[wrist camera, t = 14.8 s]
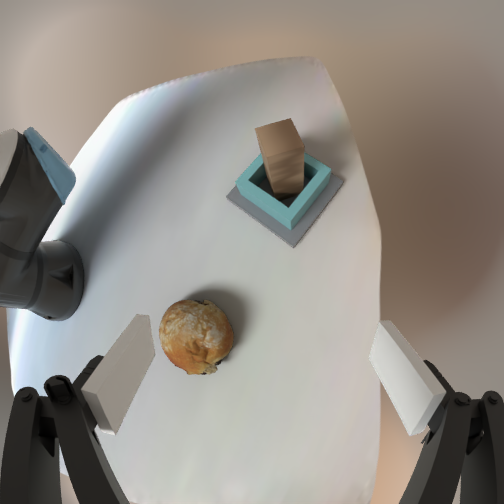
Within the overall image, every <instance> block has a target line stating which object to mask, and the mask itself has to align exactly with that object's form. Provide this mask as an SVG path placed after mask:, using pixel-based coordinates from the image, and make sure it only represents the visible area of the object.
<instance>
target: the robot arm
mask: <svg viewBox="0 0 504 504" xmlns="http://www.w3.org/2000/svg"><path fill="white" fill-rule="evenodd" d="M75 182H76V177H75V174H74V172H73V170H72V169H71V168H70V167H69V166H68V164H67V163H66V162H65V161H64V160H63V159H62V158H61V157H60V155H59V154H58V153H57V152H56V151H55V150H54V149H53V148H52V147H51V146H50V145H49V144H48V143H47V141H46V140H45V139H44V138H43V137H42V136H41V135H40V134H39V133H38V132H37V131H36V130H34V128H33V127H29V128H28V129H27V130H25V131H24V134H23V135H22V134H20V133H19V132H18V131H16V130H15V129H9V130H7V131H4V132H2V133H0V307H8V308H20V309H28V310H30V311H32V312H33V313H35V314H37V315H39V316H41V317H43V318H45V319H47V320H51V321H63V320H66V319H68V318H69V317H70V316H71V315H72V314H73V313H74V312H75V310H76V309H77V307H78V305H79V302H80V299H81V296H82V292H83V284H84V272H83V265H82V261H81V258H80V256H79V254H78V252H77V250H76V249H75V248H74V247H73V246H72V245H70V244H68V243H65V242H62V241H58V240H54V241H46V242H41V240H42V239H43V237H44V235H45V233H46V231H47V230H48V228H49V226H50V225H51V223H52V221H53V220H54V218H55V216H56V215H57V213H58V211H59V210H60V208H61V207H62V205H64V204H65V200H66V199H67V197H68V195H69V194H70V192H71V191H72V189H73V187H74V185H75ZM154 356H155V350H154V344H153V338H152V332H151V326H150V319H149V315H139V314H137V315H136V316H135V317H134V319H133V320H132V321H131V322H130V324H129V325H128V326H127V328H126V329H125V330H124V331H123V333H122V334H121V335H120V337H119V338H118V339H117V341H116V342H115V343H114V345H113V346H112V347H111V349H110V350H109V351H108V353H107V354H106V355H105V356H100V355H98V356H96V357H95V358H93V359H91V360H90V361H89V363H88V364H87V365H86V368H84V369H83V371H82V373H80V374H79V376H78V377H77V378H76V380H75V381H74V382H73V384H71V382H70V380H69V378H67V377H66V376H63V375H55V376H53V377H50V378H49V379H48V380H46V382H45V383H44V389H45V391H46V393H47V395H48V397H46V396H39V394H38V392H37V391H36V389H34V388H33V387H24V388H22V389H20V390H19V391H18V392H17V393H16V395H15V398H14V402H13V406H12V410H11V414H10V419H9V423H8V428H7V433H6V438H5V445H4V451H3V458H2V467H1V480H0V504H62V500H61V488H60V468H59V443H60V447H61V451H62V455H63V458H64V462H65V465H66V468H67V471H68V474H69V477H70V480H71V483H72V485H73V489H74V491H75V494H76V496H77V499H78V501H79V504H130V503H129V501H128V500H127V498H126V496H125V494H124V493H123V491H122V489H121V487H120V485H119V483H118V481H117V479H116V477H115V475H114V473H113V471H112V469H111V467H110V465H109V463H108V460H107V458H106V456H105V454H104V451H103V449H102V447H101V444H100V442H99V439H98V437H97V434H96V432H95V430H94V429H95V427H96V425H97V424H98V426H99V428H100V430H101V431H102V432H105V433H108V434H112V435H115V436H116V434H117V432H118V430H119V428H120V426H121V423H122V421H123V419H124V417H125V415H126V413H127V411H128V409H129V407H130V404H131V402H132V400H133V398H134V396H135V394H136V392H137V390H138V388H139V386H140V384H141V382H142V380H143V378H144V376H145V374H146V372H147V370H148V368H149V366H150V364H151V362H152V360H153V358H154ZM369 360H370V362H371V364H372V366H373V368H374V369H375V371H376V373H377V375H378V377H379V379H380V380H381V382H382V384H383V386H384V388H385V390H386V391H387V393H388V395H389V397H390V399H391V401H392V403H393V405H394V407H395V409H396V410H397V412H398V414H399V416H400V418H401V420H402V422H403V424H404V426H405V428H406V430H407V432H408V434H409V436H412V435H415V434H418V433H422V432H423V430H424V429H425V427H426V426H427V424H428V426H429V428H430V430H429V432H428V433H427V435H426V436H425V438H424V439H423V440H422V442H421V443H422V444H423V443H424V441H425V443H424V446H423V448H422V451H421V454H420V457H419V459H418V462H417V464H416V467H415V469H414V472H413V474H412V476H411V479H410V481H409V483H408V486H407V488H406V490H405V492H404V494H403V496H402V498H401V500H400V502H399V504H452V502H453V499H454V496H455V493H456V489H457V486H458V482H459V479H460V475H461V494H460V504H504V403H503V400H502V397H501V396H500V395H499V394H498V393H497V392H495V391H487V392H485V394H484V395H483V397H482V398H481V399H473V400H471V398H470V397H469V396H468V395H467V394H464V393H462V392H455V391H454V390H453V389H452V387H451V386H450V385H449V383H448V382H447V381H446V380H445V378H444V377H442V374H441V373H440V372H438V369H437V368H436V367H435V366H434V365H433V364H432V363H430V362H429V361H427V360H424V361H423V360H422V359H421V358H420V356H419V355H418V354H417V353H416V351H415V350H414V349H413V348H412V347H411V345H410V344H409V343H408V341H407V340H406V339H405V338H404V337H403V335H402V334H401V333H400V332H399V331H398V329H397V328H396V327H395V326H394V325H393V324H392V322H391V321H390V320H388V321H379V323H378V327H377V331H376V334H375V338H374V342H373V345H372V349H371V352H370V356H369ZM483 431H484V434H483Z"/></svg>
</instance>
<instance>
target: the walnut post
mask: <svg viewBox="0 0 504 504" xmlns="http://www.w3.org/2000/svg"><path fill="white" fill-rule="evenodd" d="M255 131H256V135H257V138H258V142H259V146H260V150H261V154H262V158H263V163H264V167H265V171H266V175H267V179H268V182H269V184H270V187H271V190H272V193H273V196H274V198H275V199H276V200H278V201H282V200H285V199H288V198H291V197H295V196H298V195H300V193H301V192H302V191H303V186H304V144H303V142H302V140H301V138H300V136H299V134H298V132H297V130H296V128H295V126H294V124H293V122H292V120H291V118H290V119H286V120H282V121H279V122H275V123H272V124H268V125H265V126H262V127H258V128H255Z"/></svg>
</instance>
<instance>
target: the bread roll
mask: <svg viewBox="0 0 504 504" xmlns="http://www.w3.org/2000/svg"><path fill="white" fill-rule="evenodd" d="M159 337H160V342H161V346H162V348H163V350H164V352H165V354H166V355H167V357H168V358H169V360H170V361H171V362H172V363H173V364H175V366H177V367H179V368H182V369H184V370H185V371H186V372H187V374H189V375H190V374H198V375H200V374H202V375H205V374H211V373H215V372H216V371H217V367H215V366H216V365H219V364H221V361H222V359H223V358H224V357H225V356H227V355H228V353H229V352H230V349H231V348H232V344H233V338H234V333H233V331H232V328H231V325H230V324H229V322H228V319H227V317H226V315H225V314H224V312H223V311H222V310H220V309H219V308H218V307H217V306H216V305H214V303H212V302H211V301H209V300H204V301H203V302H200V301H196V300H195V301H192V300H182V301H178V302H176V303H174V304H173V305H172V306H170V307H169V308H168V310H167V311H166V312H165V314H164V316H163V318H162V320H161V323H160V328H159Z"/></svg>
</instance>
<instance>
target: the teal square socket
mask: <svg viewBox="0 0 504 504" xmlns="http://www.w3.org/2000/svg"><path fill="white" fill-rule="evenodd" d="M331 170H332V169H330V168H329V167H327V166H326V165H324V164H323V163H321V162H319V161H318V160H316V159H315V158H313V157H311V156H310V155H308V154H306V153H305V152H304V186H303V191H302V192H301V193H300V195H298V196H295V197H291V198H288V199H285V200H282V201H278V200H276V199H275V198H274V196H273V193H272V190H271V187H270V184H269V182H268V179H267V175H266V171H265V167H264V163H263V158H262V154H260V155H259V156H258V157H257V158H256V159H255V160H254V161H253V162H252V164H251V165H250V166H249V167H248V168H247V169H246V170H245V171H244V173H243V174H242V175H241V176H240V177H239V178H238V179H237V180H236V182H235V184H236V186H235V187H234V188H233V189H232V190H231V192H230V193H229V194H228V195H227V196H226V198H227V199H228V200H229V201H230V202H232V203H233V204H234V205H236V206H237V207H239V208H240V209H241V210H243V211H244V212H245V213H247V214H248V215H250V216H251V217H252V218H254V219H255V220H256V221H258V222H259V223H260V224H262V225H263V226H265V227H266V228H267V229H269V230H270V231H271V232H273V233H274V234H275V235H277V236H278V237H279V238H281V239H282V240H283V241H285V242H286V243H287V244H289V245H290V246H291V247H293V248H294V247H295V246H296V244H297V243H298V242H299V241H300V239H301V238H302V237H303V235H304V234H305V233H306V231H307V230H308V229H309V228H310V226H311V225H312V224H313V222H314V221H315V220H316V219H317V217H318V216H319V215H320V213H321V212H322V211H323V209H324V208H325V207H326V205H327V204H328V203H329V201H330V200H331V199H332V197H333V196H334V195H335V193H336V192H337V191H338V189H339V188H340V187H341V185H342V184H343V181H342V180H341V179H339V178H338V177H336V176H335V175H333V174H332V173H331Z"/></svg>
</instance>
